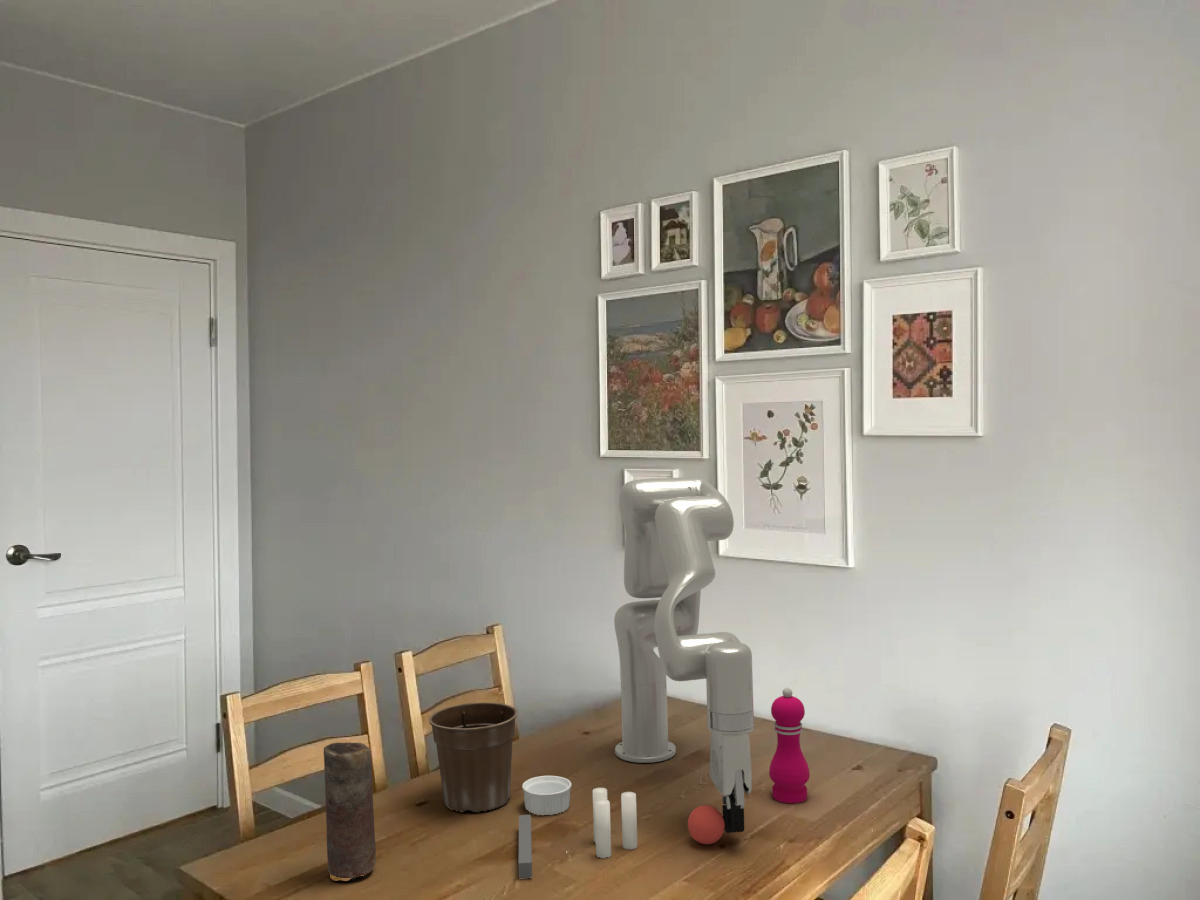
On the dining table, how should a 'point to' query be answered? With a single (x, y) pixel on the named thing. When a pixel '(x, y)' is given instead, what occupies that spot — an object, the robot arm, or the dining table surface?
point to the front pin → (629, 820)
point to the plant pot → (475, 754)
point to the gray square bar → (525, 847)
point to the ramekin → (546, 794)
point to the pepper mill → (788, 751)
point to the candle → (349, 809)
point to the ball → (706, 824)
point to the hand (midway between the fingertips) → (733, 830)
